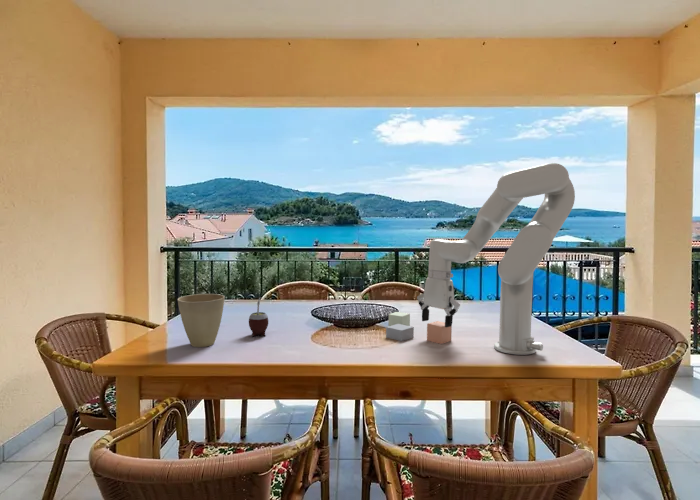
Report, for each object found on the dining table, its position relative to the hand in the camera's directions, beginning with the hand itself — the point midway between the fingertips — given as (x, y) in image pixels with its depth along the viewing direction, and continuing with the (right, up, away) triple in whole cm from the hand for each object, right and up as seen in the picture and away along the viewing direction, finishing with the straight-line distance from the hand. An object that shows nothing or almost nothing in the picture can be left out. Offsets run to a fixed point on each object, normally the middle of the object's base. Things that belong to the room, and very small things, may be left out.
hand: (436, 323), depth 150 cm
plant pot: (-80, -6, -6) cm, 80 cm away
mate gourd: (-63, -6, +6) cm, 64 cm away
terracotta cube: (+1, -6, 0) cm, 6 cm away
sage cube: (-11, -5, +16) cm, 20 cm away
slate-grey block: (-12, -6, +4) cm, 14 cm away
